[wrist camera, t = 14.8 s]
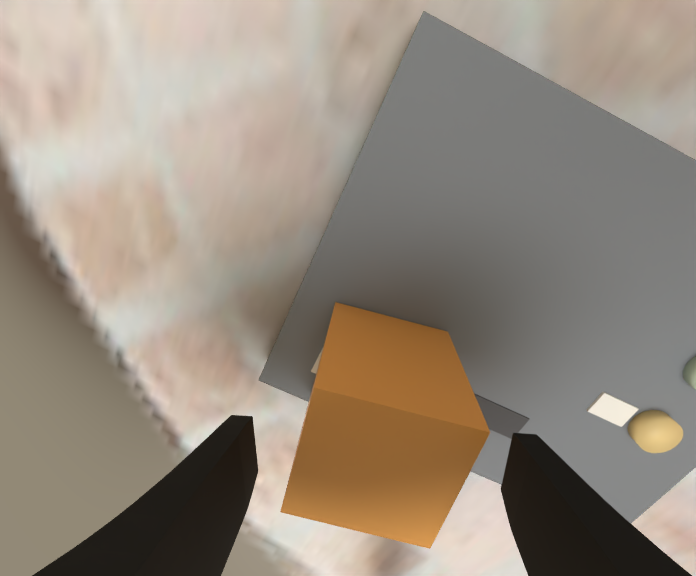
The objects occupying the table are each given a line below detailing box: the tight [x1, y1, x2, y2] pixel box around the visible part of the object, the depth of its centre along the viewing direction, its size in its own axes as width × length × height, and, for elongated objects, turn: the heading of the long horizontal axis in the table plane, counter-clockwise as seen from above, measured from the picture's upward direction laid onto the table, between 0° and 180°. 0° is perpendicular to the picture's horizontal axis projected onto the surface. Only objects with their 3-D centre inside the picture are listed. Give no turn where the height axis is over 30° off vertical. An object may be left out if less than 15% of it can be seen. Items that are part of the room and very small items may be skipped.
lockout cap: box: [281, 302, 490, 548], centre depth 12 cm, size 4×4×5 cm
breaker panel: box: [259, 11, 696, 524], centre depth 14 cm, size 18×14×2 cm
